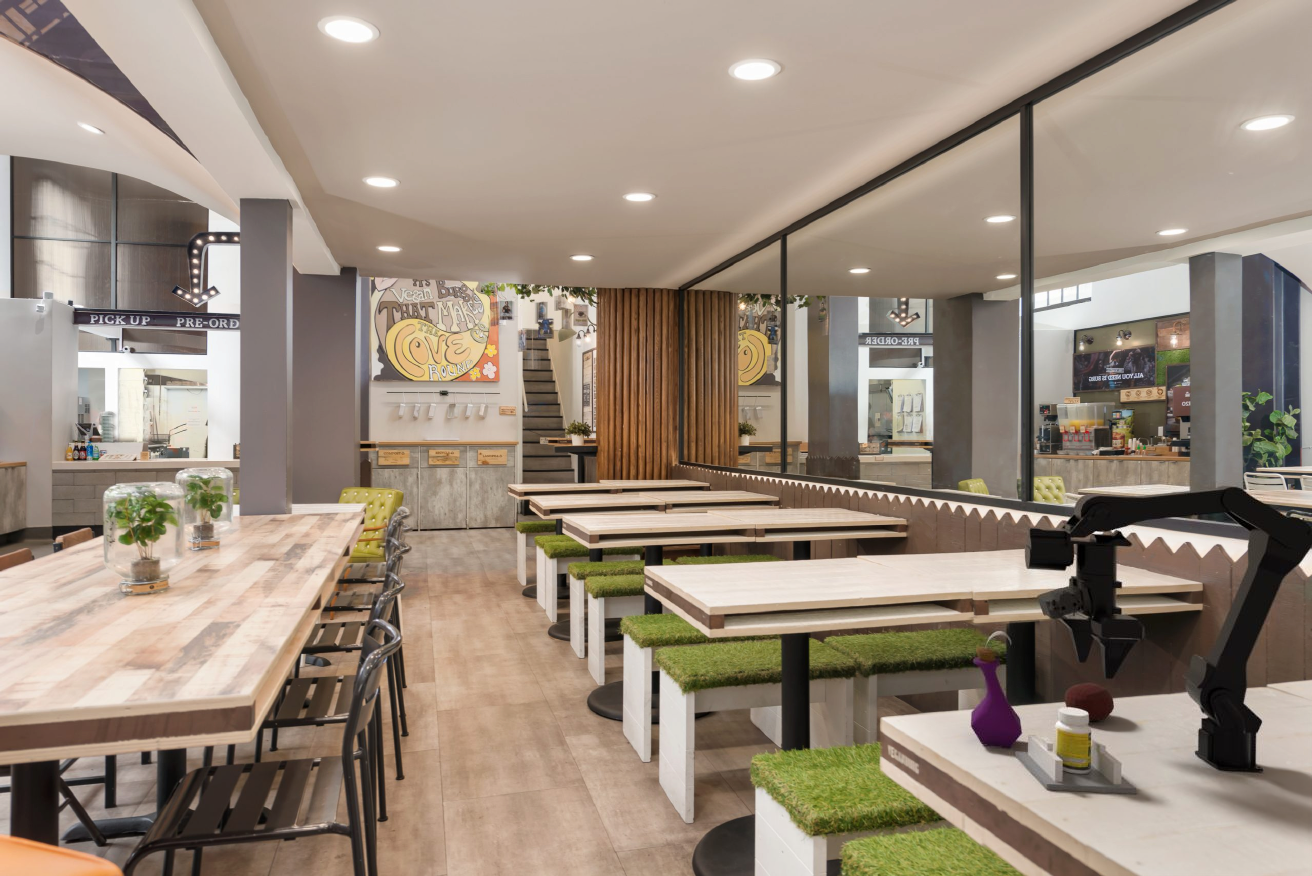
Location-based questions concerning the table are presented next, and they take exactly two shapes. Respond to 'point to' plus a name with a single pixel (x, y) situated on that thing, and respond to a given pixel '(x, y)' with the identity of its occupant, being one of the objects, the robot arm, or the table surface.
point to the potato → (1090, 700)
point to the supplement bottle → (1073, 740)
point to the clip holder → (1054, 778)
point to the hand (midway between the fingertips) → (1094, 670)
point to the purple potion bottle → (994, 705)
